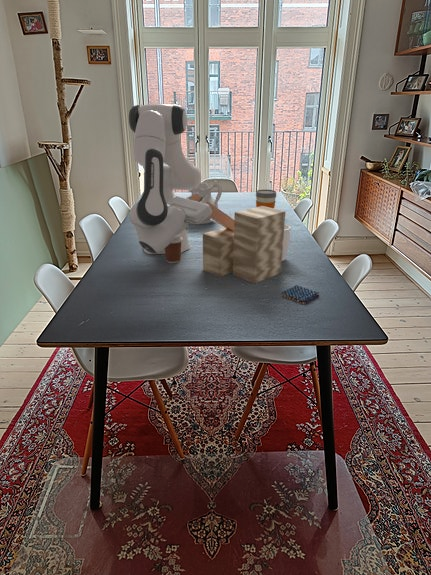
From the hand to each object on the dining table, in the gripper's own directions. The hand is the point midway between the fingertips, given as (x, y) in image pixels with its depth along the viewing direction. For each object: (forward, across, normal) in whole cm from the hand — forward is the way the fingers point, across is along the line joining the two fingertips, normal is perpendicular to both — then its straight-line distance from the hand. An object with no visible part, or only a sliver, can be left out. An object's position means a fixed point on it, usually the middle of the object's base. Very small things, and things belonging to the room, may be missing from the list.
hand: (202, 195), depth 150 cm
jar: (+16, -7, +47) cm, 51 cm away
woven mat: (-4, -37, +36) cm, 52 cm away
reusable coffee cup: (+62, +47, +74) cm, 107 cm away
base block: (-7, 0, +34) cm, 34 cm away
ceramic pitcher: (+30, +62, +55) cm, 88 cm away
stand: (0, -13, +38) cm, 40 cm away
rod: (+1, +1, +12) cm, 12 cm away
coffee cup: (-15, +22, +29) cm, 40 cm away
